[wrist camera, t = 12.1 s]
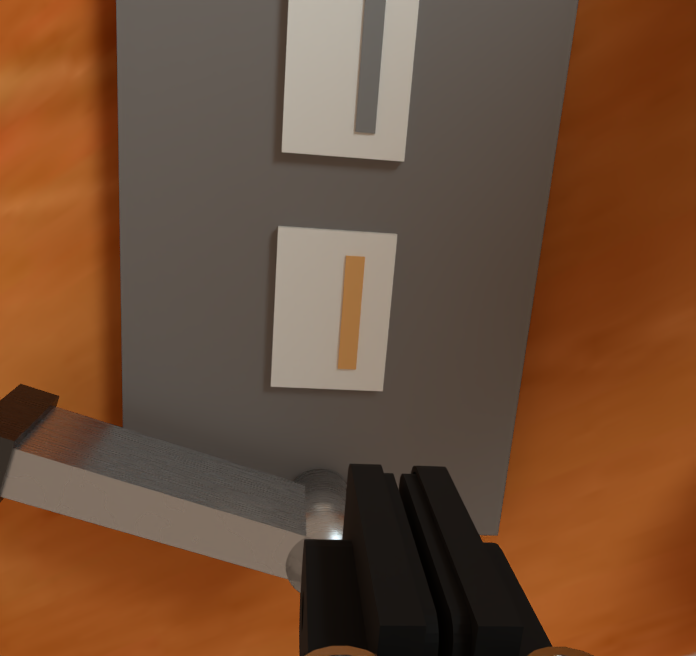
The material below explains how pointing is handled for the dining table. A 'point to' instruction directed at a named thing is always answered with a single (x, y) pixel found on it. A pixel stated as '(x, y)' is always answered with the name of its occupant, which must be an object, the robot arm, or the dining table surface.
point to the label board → (336, 228)
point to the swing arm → (162, 488)
